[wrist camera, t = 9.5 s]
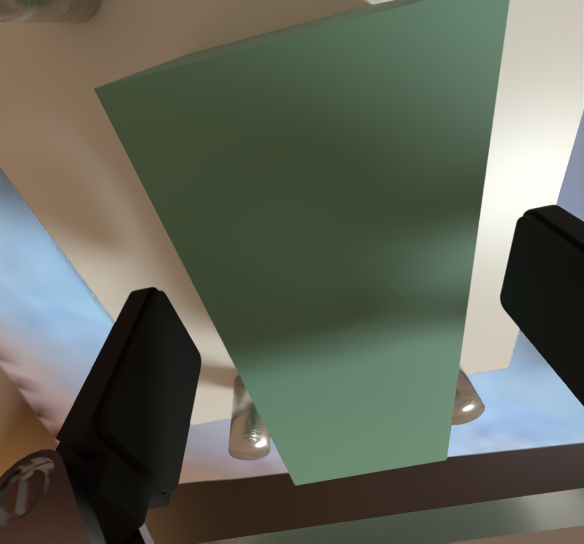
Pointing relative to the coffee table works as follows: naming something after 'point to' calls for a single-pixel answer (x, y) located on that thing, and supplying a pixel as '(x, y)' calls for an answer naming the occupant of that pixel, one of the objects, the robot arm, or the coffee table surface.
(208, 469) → the coffee table surface
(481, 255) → the standoff plate
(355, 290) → the board block
